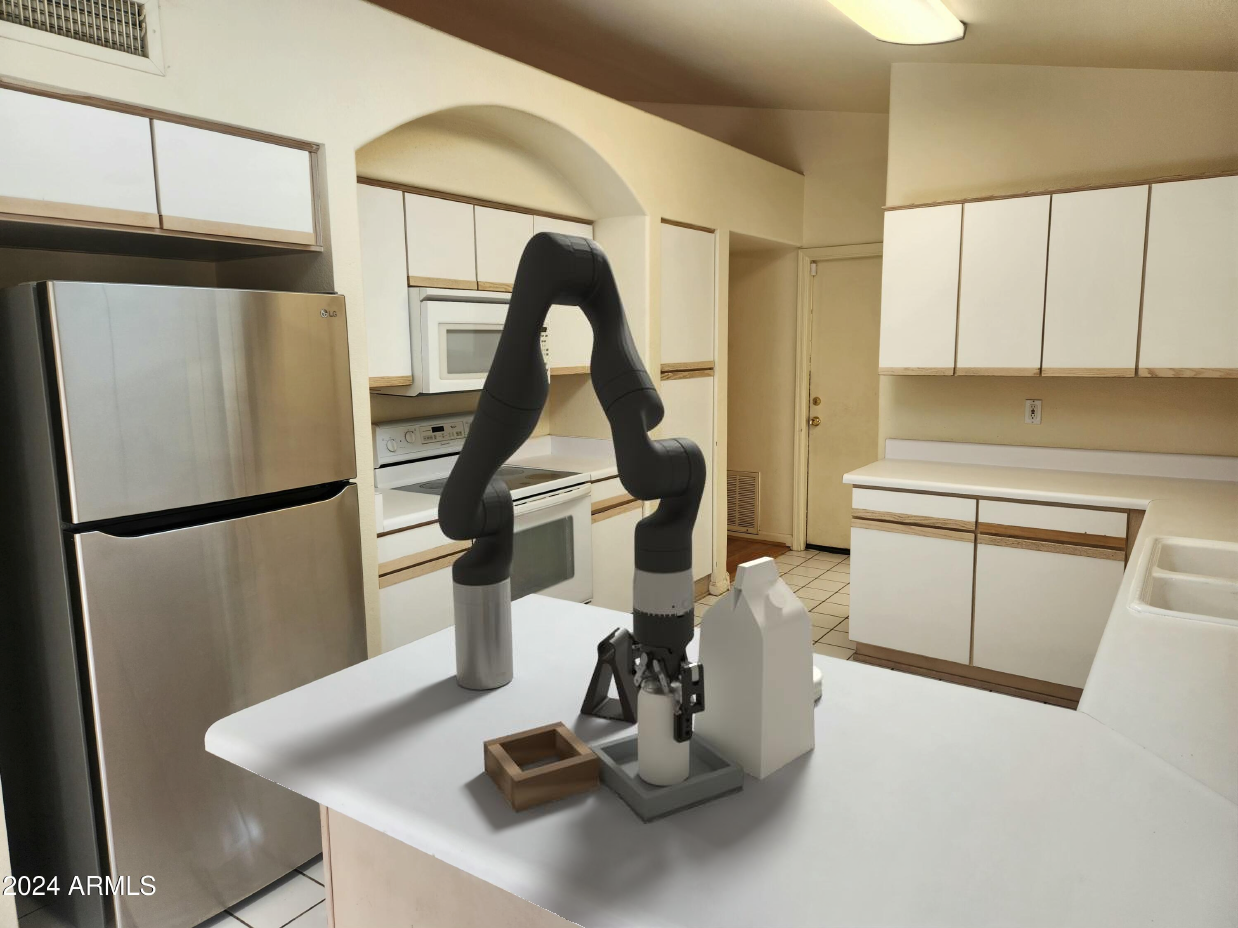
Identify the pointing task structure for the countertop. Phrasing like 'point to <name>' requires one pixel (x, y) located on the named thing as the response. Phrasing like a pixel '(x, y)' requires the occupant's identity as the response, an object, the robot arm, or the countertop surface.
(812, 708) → the milk
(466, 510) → the robot arm
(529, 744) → the socket block
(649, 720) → the can
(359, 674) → the countertop surface
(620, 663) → the phone stand
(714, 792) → the tray
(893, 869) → the countertop surface
